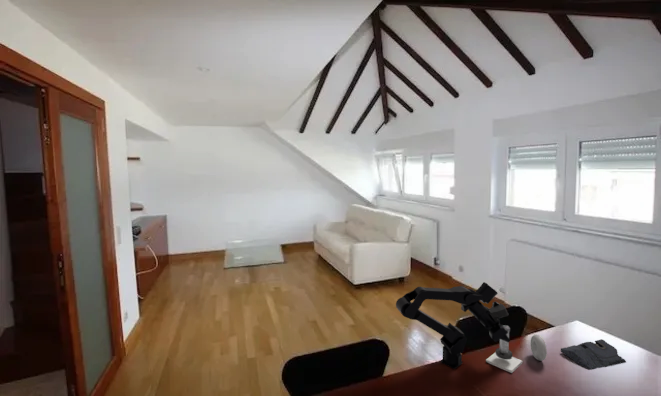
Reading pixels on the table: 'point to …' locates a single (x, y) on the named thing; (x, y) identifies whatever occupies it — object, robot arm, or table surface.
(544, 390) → the table surface
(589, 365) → the folded grey shirt
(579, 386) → the table surface
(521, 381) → the table surface
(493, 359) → the ceramic tile
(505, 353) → the grey channel block
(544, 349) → the donut
